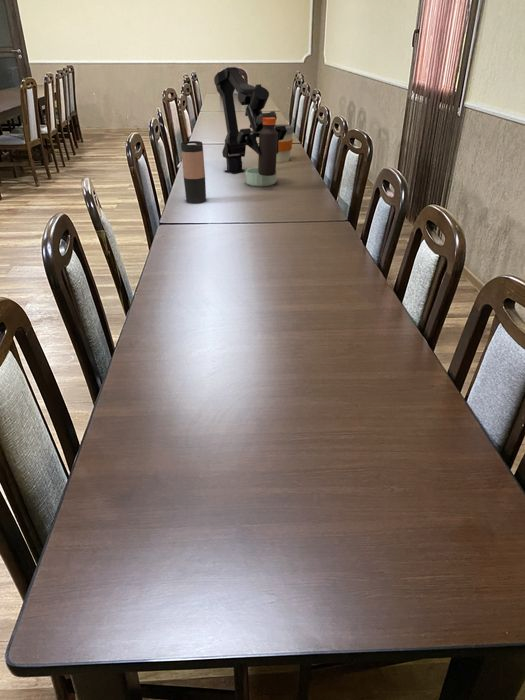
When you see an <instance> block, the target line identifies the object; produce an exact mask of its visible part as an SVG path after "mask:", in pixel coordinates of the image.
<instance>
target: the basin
mask: <svg viewBox="0 0 525 700" xmlns="http://www.w3.org/2000/svg"><path fill="white" fill-rule="evenodd" d="M244 172H245V183H246V184H247V185H248V186H251V187H260V188H261V187H270V186H273V185H275V184H276V183H277V173H276V174H275V175H272V176H263V175H260V174H258V166H256V167H252V168H251V167H250V168H247V169H245V170H244Z"/></svg>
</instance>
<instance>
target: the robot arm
mask: <svg viewBox="0 0 525 700" xmlns="http://www.w3.org/2000/svg"><path fill="white" fill-rule="evenodd" d="M213 82H214V85H215V87H216V92H217V93H218V94H219V95H220V97H221V100H222V107H223V114H224V120H225V126H226V133H227V134H226V136H225V138H224V146H223V148H222V151H221V153H222V157H223V158H225V160H226V169H224V172H225V173H229V174H237V173H242V172H245V169H243V159H242V158H245V157H246V148H247V147H249V148H250V149H251V150H253V151H254V153H256V154H257V155H258V157H259V156H261V151H260V148H259V142H258V140H257V139H259V132H260V131H261V129H262V128H263V125H262V123H263V118H268V117H275V118H276V120H277V119H278V117H277V113H276V111H275V110H271V111H270V112H263V110H264V109H265V107H266V105H267V102H268V99H269V97H270V92H269V90H268V89H267V88H265V87H264V86H262V84H261V83H260V84H255V86H254V85H252V84H249V83H248V82H247V81H246V79H245V77H243V75H242V74H241V72H240V69H239V68H238V67H237V66H231V67H230V66H229V67H225V68H223V70H221V71H219V72H217V73H216V74H215V75H214V77H213ZM235 91H236V92H237V100H238V102H239V104H240V105H241V106H245V112H244V115H245V117H247V119H248V121H249V127H248V128H247V127H246V128H240V129H239V126H238V120H237V114H236V113H237V112H236V106H235V99H234V93H235ZM279 125H280V124H279ZM285 125H286V124H282V125H280V126H275V128H274V129H275V130H276V131H277V133H278V137H277V154H278V142H279V140H283V138H284V136H285V134H286V132H287V128H286V126H285Z"/></svg>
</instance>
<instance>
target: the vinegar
mask: <svg viewBox="0 0 525 700" xmlns="http://www.w3.org/2000/svg"><path fill="white" fill-rule="evenodd" d="M276 122H277V119H276V118H275V117H268V118H263V123H262V125H263V128H262V129H261V131H260V132H259V138H258V146H259V148H260V151H261V156H259V155H258V156H257V157H258V159H257V167H258V174H260V175H263V176H272V175H275V174H276V175H277V162H276V157H277V137H278V133H277V131H276V130H275V129H274V128H275V125H277V123H276Z"/></svg>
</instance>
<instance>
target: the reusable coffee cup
mask: <svg viewBox="0 0 525 700" xmlns="http://www.w3.org/2000/svg"><path fill="white" fill-rule="evenodd" d="M280 125H283V123H282V124H275V126H280ZM284 125H285V126H286V128H287V132H286V134H285V136H284V138H283V140H279V142H278V154H277V157H276V163H287V162H289V161H290V158H291V157H290V156H291V150H292V149H293V141H294V139H293V134H294V126H293V125H291V124H284Z"/></svg>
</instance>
